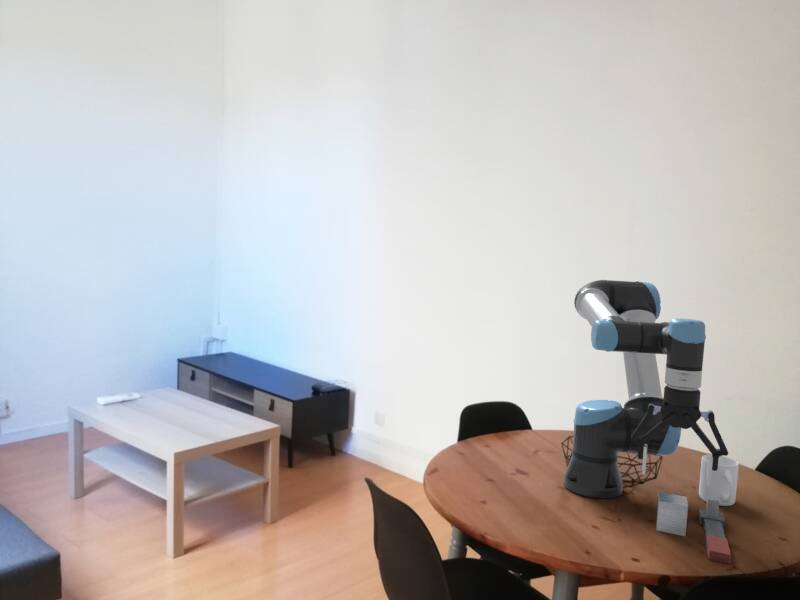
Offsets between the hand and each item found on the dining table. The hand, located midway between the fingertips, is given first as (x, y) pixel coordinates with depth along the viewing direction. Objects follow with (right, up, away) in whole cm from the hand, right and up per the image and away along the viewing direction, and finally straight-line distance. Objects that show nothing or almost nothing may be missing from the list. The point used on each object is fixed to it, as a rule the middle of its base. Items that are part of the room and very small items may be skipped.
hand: (675, 478), depth 141 cm
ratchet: (+7, -13, -3) cm, 15 cm away
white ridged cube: (0, -12, +1) cm, 12 cm away
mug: (+19, -12, +18) cm, 29 cm away
